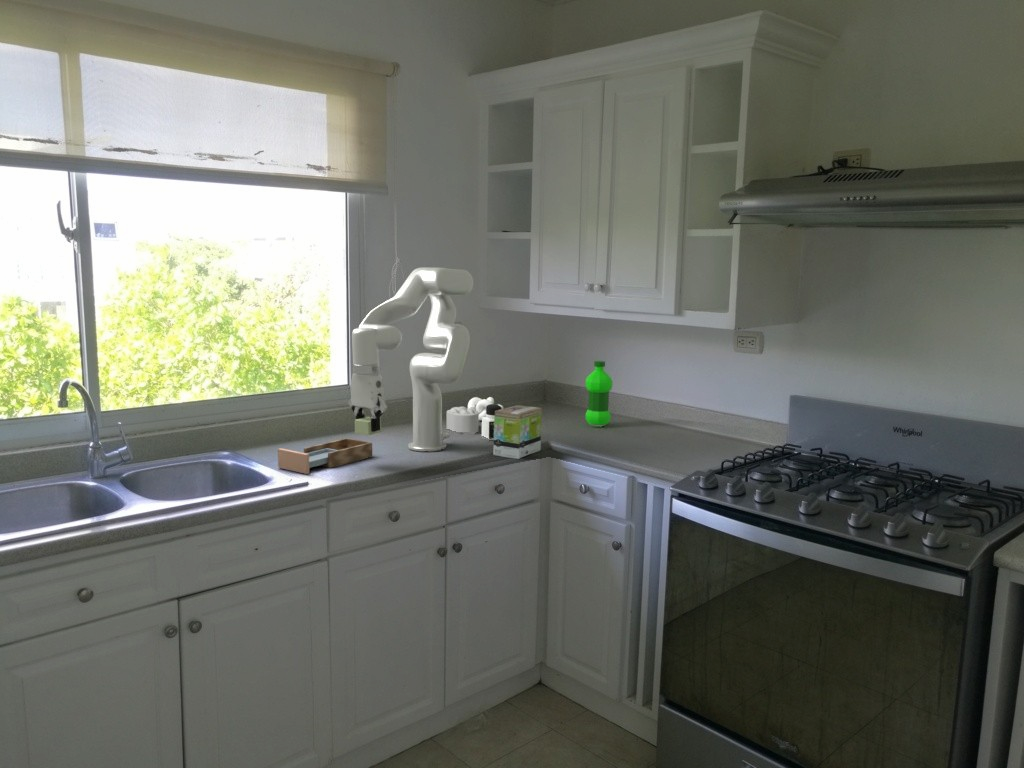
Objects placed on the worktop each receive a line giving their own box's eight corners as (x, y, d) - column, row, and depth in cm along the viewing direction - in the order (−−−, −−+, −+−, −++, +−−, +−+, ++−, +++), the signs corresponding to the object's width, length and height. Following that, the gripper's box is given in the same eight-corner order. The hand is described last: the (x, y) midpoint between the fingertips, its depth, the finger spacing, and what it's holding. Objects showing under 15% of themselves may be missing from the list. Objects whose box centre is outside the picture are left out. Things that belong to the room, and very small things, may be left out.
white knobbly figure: (472, 424, 305) (472, 401, 303) (463, 418, 316) (463, 396, 314) (500, 422, 309) (500, 399, 307) (489, 416, 320) (490, 395, 318)
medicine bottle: (488, 441, 275) (489, 407, 273) (481, 436, 282) (481, 403, 280) (507, 439, 278) (508, 405, 276) (499, 435, 284) (500, 402, 283)
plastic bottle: (599, 422, 311) (601, 359, 307) (616, 427, 302) (618, 362, 299) (578, 424, 306) (580, 360, 302) (595, 429, 297) (597, 363, 293)
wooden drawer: (324, 456, 248) (323, 438, 248) (351, 461, 242) (351, 443, 241) (278, 467, 234) (277, 449, 233) (306, 473, 227) (305, 454, 226)
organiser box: (346, 451, 256) (346, 438, 255) (372, 456, 250) (372, 442, 249) (304, 462, 241) (303, 448, 241) (329, 468, 235) (329, 453, 235)
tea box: (519, 459, 249) (520, 413, 247) (492, 455, 254) (492, 410, 252) (541, 450, 262) (542, 406, 260) (515, 447, 267) (515, 403, 265)
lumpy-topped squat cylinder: (467, 426, 299) (467, 404, 298) (485, 433, 289) (485, 409, 287) (443, 429, 294) (443, 406, 293) (460, 435, 283) (460, 412, 282)
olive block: (368, 429, 241) (367, 416, 240) (381, 431, 238) (381, 418, 237) (355, 432, 236) (354, 419, 235) (368, 435, 233) (368, 422, 232)
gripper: (396, 370, 232) (398, 430, 235) (354, 365, 241) (356, 423, 245) (378, 373, 226) (380, 435, 229) (336, 368, 235) (338, 428, 238)
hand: (368, 428), depth 237 cm, fingers closed on olive block, 5 cm apart
